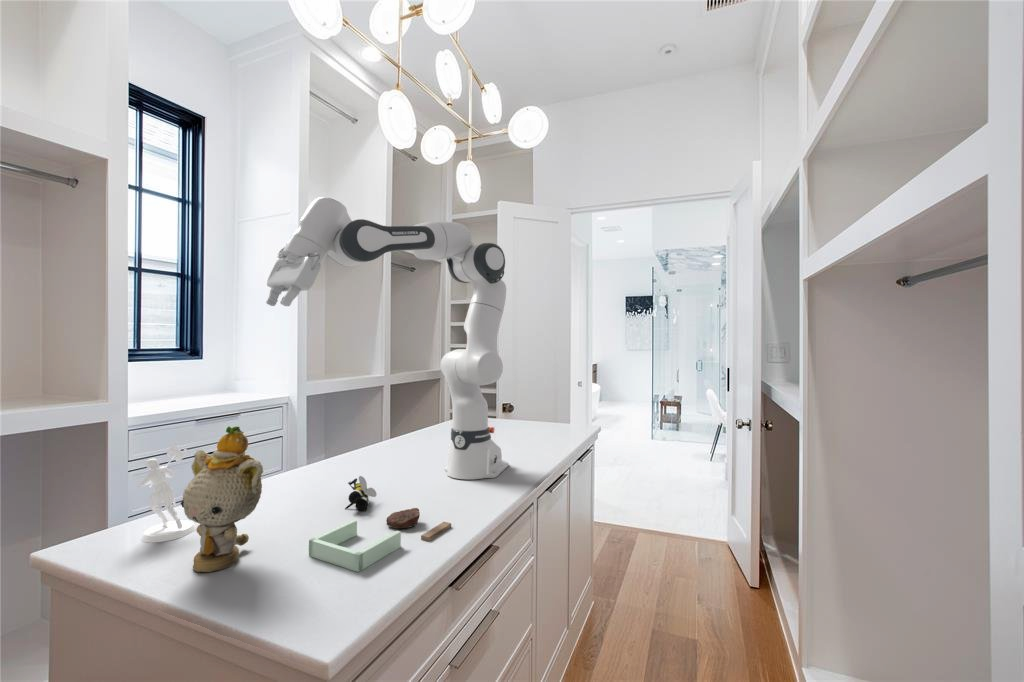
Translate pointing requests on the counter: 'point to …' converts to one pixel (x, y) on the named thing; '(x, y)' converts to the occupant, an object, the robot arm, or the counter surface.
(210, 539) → the figurine
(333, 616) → the counter surface
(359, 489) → the toy
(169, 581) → the counter surface
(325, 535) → the green u-shaped bracket
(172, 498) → the figurine
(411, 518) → the stone
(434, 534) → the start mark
